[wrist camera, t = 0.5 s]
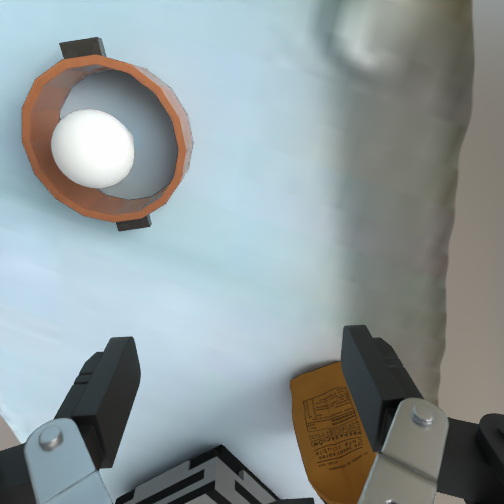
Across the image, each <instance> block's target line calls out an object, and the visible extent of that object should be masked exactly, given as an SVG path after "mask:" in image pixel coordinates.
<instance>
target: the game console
mask: <svg viewBox="0 0 504 504" xmlns="http://www.w3.org/2000/svg"><path fill="white" fill-rule="evenodd" d="M276 500H280V499H279V498H278V497H277V496H276V495H275V494H274V493H273V492H272V491H271V490H270V489H269V488H267V487H266V486H265V485H264V484H263V483H262V482H261V481H260V480H259V479H258V478H257V477H256V476H255V475H254V474H253V473H252V472H250V471H249V470H248V469H247V468H246V467H245V466H244V465H243V464H242V463H241V462H240V461H239V460H238V459H237V458H236V457H235V456H234V455H232V454H231V453H230V452H229V451H228V450H227V449H226V448H225V447H224V446H223V445H220V446H218V447H216V448H214V449H212V450H210V451H208V452H206V453H204V454H202V455H200V456H198V457H196V458H194V459H192V460H187V461H185V462H184V463H182V464H180V465H178V466H176V467H174V468H172V469H170V470H168V471H166V472H164V473H162V474H160V475H158V476H156V477H154V478H153V479H151V480H149V481H147V482H145V483H143V484H141V485H139V486H137V487H136V489H134V490H132V491H130V492H128V493H126V494H124V495H122V496H121V497H119V498H117V499H116V503H115V504H268V503H271V502H274V501H276Z"/></svg>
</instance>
